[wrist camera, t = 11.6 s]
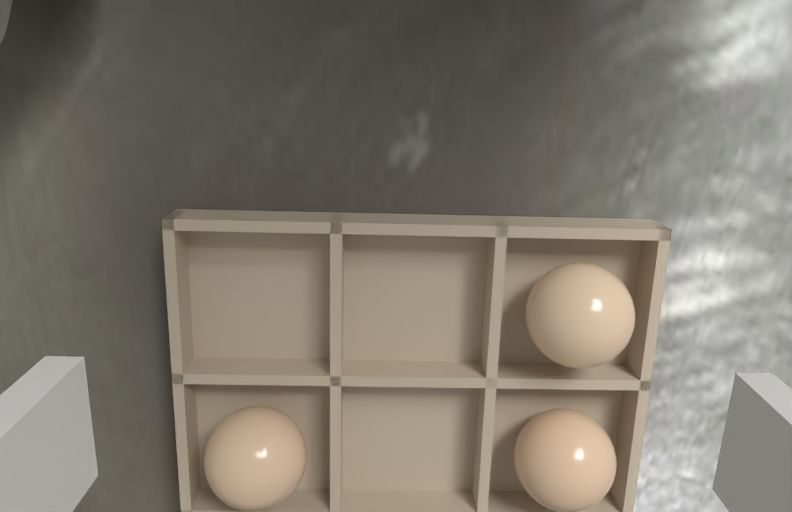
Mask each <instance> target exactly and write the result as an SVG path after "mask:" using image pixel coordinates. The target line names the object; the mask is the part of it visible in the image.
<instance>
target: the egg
mask: <svg viewBox="0 0 792 512" xmlns="http://www.w3.org/2000/svg"><path fill="white" fill-rule="evenodd" d="M306 463H307V448H306V443H305V439H304V437H303V434H302V432H301V430H300V429H299V427H298V426H297V424H296V423H295V422H294V421H293V420H292V419H291V418H290V417H289V416H287V415H286V414H285V413H283V412H281V411H279V410H277V409H274V408H271V407H266V406H251V407H246V408H242V409H240V410H237V411H235V412H233V413H232V414H230V415H228V416H227V417H226V418H224V419H223V420H222V421H221V422H220V423H219V424H218V425H217V426H216V428H215V429H214V431H213V432H212V434H211V436H210V438H209V440H208V442H207V445H206V448H205V454H204V469H205V475H206V478H207V481H208V483H209V485H210V487H211V489H212V491H213V492H214V493H215V494H216V496H217V497H218V498H219V499H221V500H222V501H223V502H224V503H226V504H227V505H229V506H231V507H233V508H235V509H239V510H243V511H261V510H266V509H270V508H272V507H274V506H276V505H278V504H280V503H281V502H283V501H284V500H286V499H287V498H288V497H289V496H290V495H291V494H292V493H293V492H294V491H295V489H296V488H297V486H298V485H299V483H300V481H301V479H302V477H303V475H304V472H305V468H306Z"/></svg>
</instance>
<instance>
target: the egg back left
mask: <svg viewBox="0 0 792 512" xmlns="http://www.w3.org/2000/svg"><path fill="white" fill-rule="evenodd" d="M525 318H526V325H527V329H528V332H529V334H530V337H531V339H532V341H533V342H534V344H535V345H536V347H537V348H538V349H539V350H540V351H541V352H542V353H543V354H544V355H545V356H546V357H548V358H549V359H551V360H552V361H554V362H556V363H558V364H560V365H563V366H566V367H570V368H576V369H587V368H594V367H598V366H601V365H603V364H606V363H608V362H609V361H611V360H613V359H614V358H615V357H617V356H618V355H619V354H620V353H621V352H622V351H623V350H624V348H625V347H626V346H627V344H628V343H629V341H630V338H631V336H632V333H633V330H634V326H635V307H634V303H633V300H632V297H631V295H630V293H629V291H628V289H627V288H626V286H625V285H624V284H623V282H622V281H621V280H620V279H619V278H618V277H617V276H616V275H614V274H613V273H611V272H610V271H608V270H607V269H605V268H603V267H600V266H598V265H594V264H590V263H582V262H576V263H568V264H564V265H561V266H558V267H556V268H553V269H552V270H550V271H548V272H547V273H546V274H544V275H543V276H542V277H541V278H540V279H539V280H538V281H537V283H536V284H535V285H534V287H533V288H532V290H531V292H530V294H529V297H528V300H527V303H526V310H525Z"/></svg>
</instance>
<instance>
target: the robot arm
mask: <svg viewBox="0 0 792 512" xmlns="http://www.w3.org/2000/svg"><path fill="white" fill-rule="evenodd" d="M97 476H98V469H97V461H96V453H95V444H94V436H93V427H92V419H91V411H90V402H89V394H88V385H87V377H86V369H85V360H84V357H68V356H45V357H44V358H43V359H41V360H40V361H39V362H38V363H37V364H36V365H35V366H33V367H32V368H31V369H30V370H29V371H28V372H26V373H25V374H24V375H23V376H22V377H21V378H20V379H18V380H17V381H16V382H15V383H14V384H13V385H11V386H10V387H9V388H8V389H7V390H6V391H5V392H3V393H2V394H1V395H0V512H73V511H74V509H75V508H76V506H77V505H78V503H79V502H80V501H81V499H82V498H83V496H84V495H85V493H86V492H87V491H88V489H89V488H90V486H91V485H92V483H93V482H94V481H95V479H96V478H97ZM713 490H714V492H715V493H716V494H717V496H718V497H719V498H720V500H721V501H722V502H723V504H724V505H725V506H726V508H727V509H728V511H729V512H792V389H791V388H790V387H788V386H787V385H786V384H785V383H784V382H782V381H781V380H780V379H779V378H778V377H776V376H775V375H774V374H763V373H735V378H734V383H733V388H732V394H731V399H730V404H729V409H728V414H727V419H726V424H725V429H724V434H723V439H722V444H721V449H720V454H719V459H718V464H717V469H716V474H715V479H714V484H713Z"/></svg>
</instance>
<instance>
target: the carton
mask: <svg viewBox="0 0 792 512" xmlns="http://www.w3.org/2000/svg"><path fill="white" fill-rule="evenodd" d="M161 220H162V235H163V250H164V265H165V280H166V295H167V311H168V326H169V341H170V356H171V371H172V386H173V401H174V416H175V431H176V446H177V461H178V476H179V491H180V506H181V512H559V511H555V510H551V509H549V508H547V507H545V506H543V505H541V504H539V503H538V502H537V501H535V500H534V499H533V498H532V497H531V496H530V495H529V494H528V493H527V492H526V490H525V489H524V488H523V486H522V485H521V483H520V481H519V478H518V476H517V473H516V470H515V465H514V448H515V444H516V440H517V437H518V435H519V433H520V431H521V430H522V428H523V427H524V426H525V424H526V423H527V422H528V421H529V420H530V419H532V418H533V417H534V416H536V415H538V414H539V413H541V412H544V411H547V410H550V409H556V408H565V409H572V410H576V411H579V412H582V413H584V414H586V415H588V416H590V417H591V418H593V419H594V420H595V421H596V422H598V423H599V424H600V425H601V426H602V428H603V429H604V430H605V431H606V432H607V434H608V436H609V437H610V439H611V441H612V444H613V446H614V450H615V454H616V461H617V466H616V474H615V479H614V482H613V484H612V486H611V488H610V490H609V491H608V493H607V494H606V496H605V497H604V498H603V499H602V500H601V501H600V502H599V503H597V504H596V505H594V506H592V507H591V508H588V509H586V510H583V511H579V512H633V509H634V501H635V494H636V487H637V479H638V472H639V465H640V458H641V450H642V443H643V436H644V429H645V421H646V414H647V407H648V399H649V392H650V385H651V378H652V370H653V363H654V356H655V348H656V341H657V334H658V327H659V319H660V312H661V305H662V297H663V290H664V283H665V276H666V268H667V261H668V254H669V247H670V239H671V232H672V230H671V229H669V228H668V227H666V226H664V225H662V224H660V223H658V222H656V221H654V220H652V219H620V218H574V217H528V216H482V215H435V214H389V213H343V212H296V211H250V210H204V209H176V210H175V211H173V212H172V213H170V214H168V215H167V216H165V217H164V218H162V219H161ZM576 262H582V263H590V264H594V265H598V266H600V267H603V268H605V269H607V270H608V271H610V272H611V273H613V274H614V275H616V276H617V277H618V278H619V279H620V280H621V281H622V282H623V284H624V285H625V286H626V288H627V289H628V291H629V293H630V295H631V297H632V300H633V303H634V307H635V326H634V330H633V333H632V336H631V338H630V341H629V343H628V344H627V346H626V347H625V348H624V350H623V351H622V352H621V353H620V354H619V355H618V356H617V357H615V358H614V359H613V360H611V361H609V362H608V363H606V364H603V365H601V366H598V367H594V368H587V369H576V368H570V367H566V366H563V365H560V364H558V363H556V362H554V361H552V360H551V359H549V358H548V357H546V356H545V355H544V354H543V353H542V352H541V351H540V350H539V349H538V348H537V347H536V345H535V344H534V342H533V341H532V339H531V337H530V334H529V332H528V329H527V325H526V318H525V310H526V303H527V300H528V297H529V294H530V292H531V290H532V288H533V287H534V285H535V284H536V283H537V281H538V280H539V279H540V278H541V277H542V276H543V275H544V274H546V273H547V272H548V271H550V270H552V269H553V268H556V267H558V266H561V265H564V264H568V263H576ZM251 406H266V407H271V408H274V409H277V410H279V411H281V412H283V413H285V414H286V415H287V416H289V417H290V418H291V419H292V420H293V421H294V422H295V423H296V424H297V426H298V427H299V429H300V430H301V432H302V434H303V437H304V439H305V443H306V448H307V463H306V468H305V472H304V475H303V477H302V479H301V481H300V483H299V485H298V486H297V488H296V489H295V491H294V492H293V493H292V494H291V495H290V496H289V497H288V498H287V499H286V500H284V501H283V502H281V503H280V504H278V505H276V506H274V507H272V508H270V509H266V510H261V511H243V510H239V509H235V508H233V507H231V506H229V505H227V504H226V503H224V502H223V501H222V500H221V499H219V498H218V497H217V496H216V494H215V493H214V492H213V491H212V489H211V487H210V485H209V483H208V481H207V478H206V475H205V469H204V454H205V448H206V445H207V442H208V440H209V438H210V436H211V434H212V432H213V431H214V429H215V428H216V426H217V425H218V424H219V423H220V422H221V421H222V420H223V419H224V418H226V417H227V416H228V415H230V414H232V413H233V412H235V411H237V410H240V409H242V408H246V407H251Z"/></svg>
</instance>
